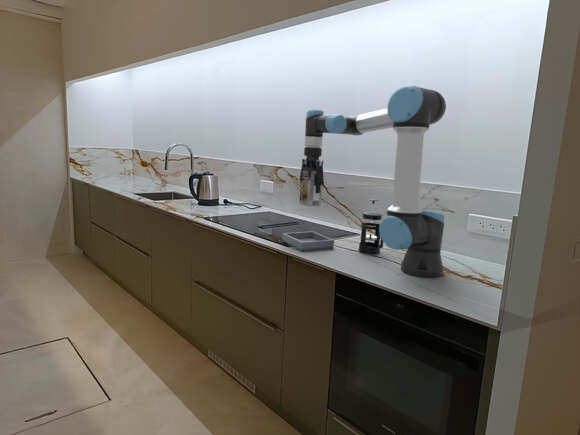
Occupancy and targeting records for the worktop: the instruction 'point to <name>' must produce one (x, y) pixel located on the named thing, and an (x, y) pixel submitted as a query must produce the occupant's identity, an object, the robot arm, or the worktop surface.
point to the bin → (308, 241)
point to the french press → (370, 246)
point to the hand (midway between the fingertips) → (310, 198)
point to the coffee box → (308, 188)
